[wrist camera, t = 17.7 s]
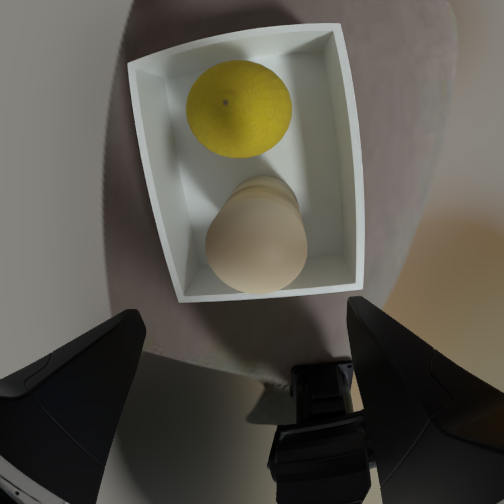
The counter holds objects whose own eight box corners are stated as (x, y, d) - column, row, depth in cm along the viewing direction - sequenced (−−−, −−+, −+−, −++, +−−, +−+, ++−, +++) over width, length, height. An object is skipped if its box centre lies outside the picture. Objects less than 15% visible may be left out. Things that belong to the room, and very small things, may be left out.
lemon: (202, 85, 17) (153, 62, 9) (282, 71, 16) (282, 31, 8) (216, 159, 19) (175, 178, 11) (295, 147, 18) (305, 157, 11)
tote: (347, 255, 21) (362, 289, 17) (197, 269, 23) (178, 302, 19) (326, 47, 15) (340, 23, 10) (160, 75, 17) (127, 63, 12)
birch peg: (292, 246, 21) (297, 299, 14) (226, 237, 21) (204, 286, 15) (303, 180, 19) (316, 208, 12) (231, 171, 19) (207, 194, 13)
